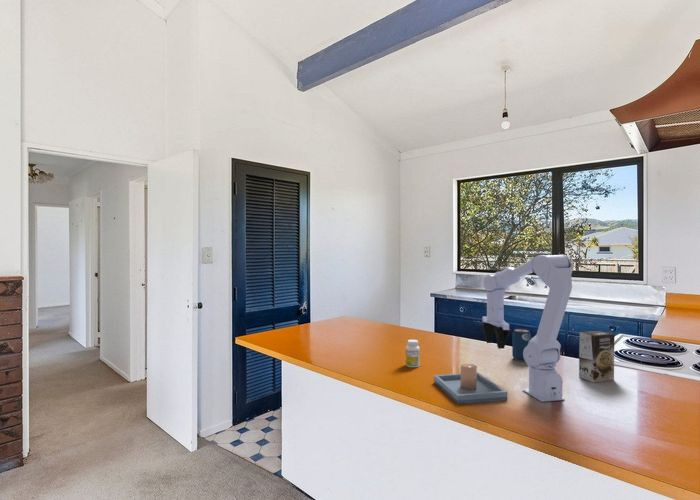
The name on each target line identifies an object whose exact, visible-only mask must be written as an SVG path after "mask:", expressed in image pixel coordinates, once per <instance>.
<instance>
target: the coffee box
mask: <svg viewBox="0 0 700 500" xmlns="http://www.w3.org/2000/svg"><path fill="white" fill-rule="evenodd" d="M578 345H579V350H578V353H579V355H578V356H579V357H578V377H579V378H582V379H583V380H586V381H587V382H588V381H589V382H591V383H594V384H595V383H601V382H611V381H614V380H615V333H611V332H606V331H602V330H601V331H600V330H594V331H593V330H592V331H589V330H588V331H580V332H579V344H578Z"/></svg>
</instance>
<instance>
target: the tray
mask: <svg viewBox="0 0 700 500" xmlns="http://www.w3.org/2000/svg"><path fill="white" fill-rule="evenodd" d="M433 382H434V384H435V385H436V386H438V388H439V389H440V390H442V391H443V392H444V394H446V395H447V396H448V397H449V398H451V400H452V401H454V402H455V403H456V404H457V405H462V404H463V405H464V404H475V403H488V402H498V401H499V402H500V401H508V391H507V390H505V389H504V388H503V387H500V386H499V385H498V384H497V383H494V382H493V381H492V380H490V379H489V378H487V377H485V376H484V375H483V374H481V373H480V372H478V371H477V389H476V390H473V391H468V390H464V389H462V388H461V387H460V373H448V374H437V375H436V374H434V376H433Z"/></svg>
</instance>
